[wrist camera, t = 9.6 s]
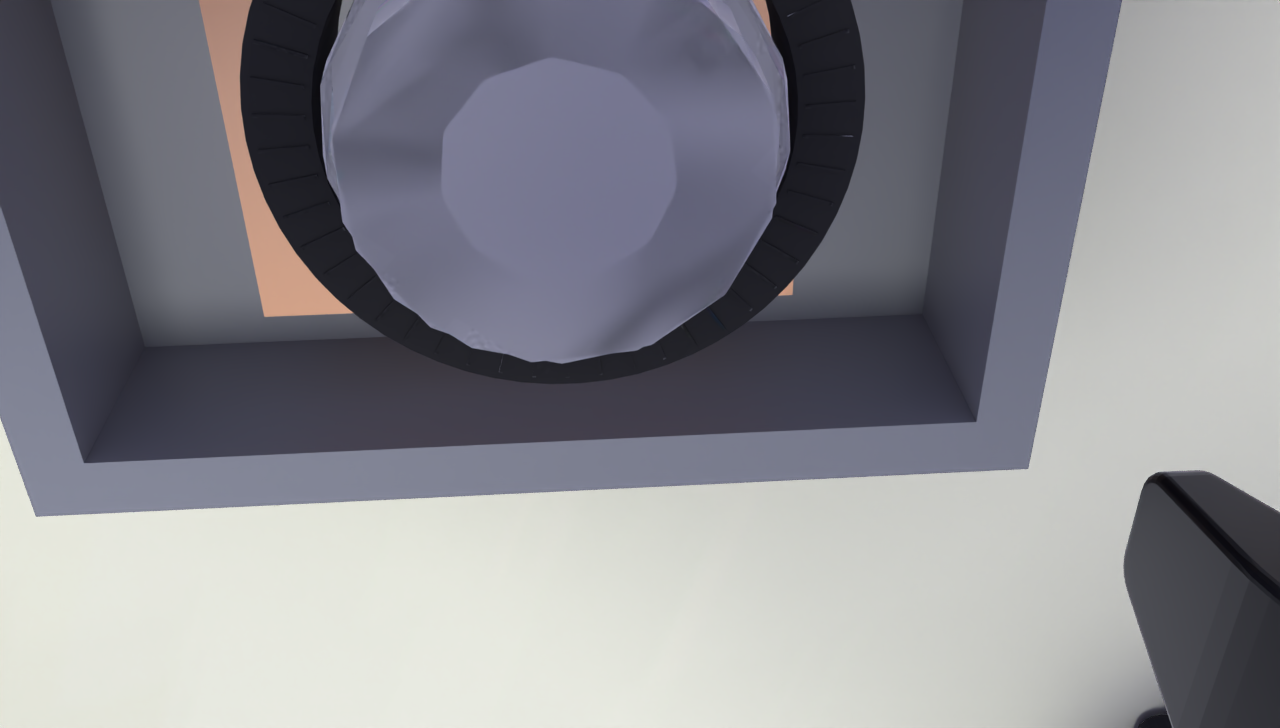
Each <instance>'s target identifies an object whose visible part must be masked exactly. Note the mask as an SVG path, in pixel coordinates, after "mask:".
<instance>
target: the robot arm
mask: <svg viewBox="0 0 1280 728" xmlns="http://www.w3.org/2000/svg"><path fill="white" fill-rule="evenodd" d="M1124 578H1125V584H1126V587H1127V591H1128V594H1129V597H1130V600H1131V603H1132V606H1133V609H1134V612H1135V615H1136V618H1137V622H1138V625H1139V628H1140V631H1141V634H1142V637H1143V640H1144V643H1145V646H1146V649H1147V652H1148V655H1149V658H1150V661H1151V664H1152V667H1153V670H1154V673H1155V676H1156V680H1157V683H1158V686H1159V689H1160V692H1161V695H1162V698H1163V701H1164V704H1165V707H1166V710H1167V713H1168V714H1167V715H1158V716H1153V717H1151V718H1149V719H1146V720H1145V721H1144V722H1143V723H1141V724H1140V725H1139V727H1138V728H1280V512H1278V511H1277V510H1275V509H1273V508H1271V507H1270V506H1268V505H1266V504H1264V503H1263V502H1261V501H1259V500H1257V499H1256V498H1254V497H1252V496H1251V495H1249V494H1247V493H1245V492H1244V491H1242V490H1240V489H1238V488H1237V487H1235V486H1233V485H1231V484H1230V483H1228V482H1226V481H1224V480H1223V479H1221V478H1219V477H1218V476H1216V475H1214V474H1212V473H1210V472H1206V471H1200V470H1195V471H1171V472H1158V473H1155V474H1153V475H1151V476H1150V477H1149V478H1148V479H1147V481H1146V482H1145V483H1144V486H1143V489H1142V491H1141V495H1140V499H1139V502H1138V506H1137V510H1136V514H1135V517H1134V521H1133V525H1132V529H1131V532H1130V536H1129V540H1128V544H1127V547H1126V551H1125V556H1124Z"/></svg>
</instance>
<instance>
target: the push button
mask: <svg viewBox="0 0 1280 728" xmlns="http://www.w3.org/2000/svg"><path fill="white" fill-rule="evenodd" d="M765 1H766V5H767V9H768V13H769V20H770V29H771V35H770V33H769V31H768V29H767V27H766V25H765V23H764V21H763V20H762V18H761V16H760V14H759V12H758V10H757V8H756V6H755V4H754V2H753V0H354V1H353V3H352V6H351V8H350V10H349V12H348V14H347V17H346V19H345V21H344V23H343V25H342V27H341V30H340V32H339V34H338V25H339V15H340V10H341V5H342V0H252V2H251V5H250V8H249V12H248V17H247V22H246V27H245V32H244V37H243V42H242V53H241V66H240V99H241V113H242V119H243V126H244V133H245V139H246V143H247V147H248V151H249V155H250V158H251V162H252V166H253V170H254V173H255V175H256V178H257V180H258V183H259V186H260V188H261V191H262V193H263V196H264V199H265V201H266V203H267V205H268V207H269V209H270V211H271V213H272V215H273V216H274V218H275V220H276V222H277V224H278V226H279V228H280V230H281V231H282V233H283V234H284V236H285V237H286V239H287V240H288V242H289V243H290V245H291V246H292V248H293V250H294V251H295V253H296V254H297V255H298V257H299V258H300V259H301V260H302V261H303V263H304V264H305V265H306V266H307V268H308V269H309V270H310V271H311V273H312V274H313V275H314V276H315V278H316V279H317V280H318V281H319V282H320V283H321V284H322V285H323V286H324V287H325V288H326V289H327V290H328V291H329V292H330V293H331V294H332V295H333V296H334V297H335V298H336V299H337V300H338V301H340V302H341V303H342V304H343V305H344V306H346V307H347V308H348V309H349V310H350V311H352V312H353V313H354V314H355V315H356V316H358V317H359V318H360V319H361V320H363V321H364V322H366V323H367V324H369V325H370V326H372V327H373V328H375V329H376V330H378V331H379V332H380V333H382V334H383V335H385V336H387V337H388V338H390V339H392V340H394V341H396V342H397V343H399V344H401V345H403V346H405V347H406V348H408V349H410V350H412V351H414V352H417V353H419V354H421V355H423V356H426V357H428V358H430V359H432V360H435V361H437V362H440V363H443V364H446V365H449V366H452V367H454V368H457V369H460V370H463V371H467V372H471V373H475V374H479V375H483V376H487V377H491V378H497V379H503V380H510V381H517V382H524V383H541V384H574V383H588V382H596V381H605V380H612V379H616V378H621V377H626V376H631V375H635V374H640V373H643V372H646V371H649V370H653V369H656V368H659V367H662V366H666V365H668V364H671V363H673V362H676V361H678V360H680V359H683V358H685V357H688V356H690V355H693V354H695V353H696V352H698V351H700V350H702V349H704V348H706V347H708V346H710V345H712V344H714V343H716V342H718V341H719V340H721V339H722V338H724V337H725V336H727V335H729V334H730V333H732V332H733V331H735V330H736V329H738V328H739V327H741V326H743V325H744V324H745V323H746V322H748V321H749V320H750V319H751V318H753V317H754V316H755V315H756V314H758V313H759V312H760V311H762V310H763V309H764V308H765V307H766V306H767V305H768V304H770V303H771V302H772V301H773V300H774V299H775V298H776V297H777V296H778V295H779V294H780V293H781V292H782V291H783V290H784V289H785V288H786V287H787V286H788V285H789V284H790V283H791V281H792V280H793V279H794V278H795V277H796V276H797V274H798V273H799V272H800V271H801V270H802V269H803V267H804V266H805V265H806V264H807V262H808V261H809V259H810V258H811V256H812V255H813V253H814V252H815V251H816V249H817V248H818V246H819V245H820V243H821V242H822V240H823V239H824V237H825V235H826V233H827V231H828V230H829V228H830V226H831V224H832V222H833V221H834V219H835V217H836V215H837V213H838V211H839V208H840V206H841V204H842V201H843V199H844V196H845V194H846V192H847V189H848V187H849V184H850V180H851V177H852V174H853V171H854V167H855V164H856V161H857V157H858V152H859V146H860V141H861V136H862V131H863V121H864V109H865V67H864V59H863V52H862V45H861V38H860V33H859V29H858V25H857V21H856V17H855V13H854V10H853V6H852V2H851V0H765Z"/></svg>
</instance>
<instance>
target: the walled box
mask: <svg viewBox="0 0 1280 728" xmlns="http://www.w3.org/2000/svg"><path fill="white" fill-rule="evenodd" d="M353 1H354V0H342V5H341V10H340V15H339V25H338V34H339V32H340V30H341V27H342V25H343V23H344V21H345V19H346V17H347V14H348V12H349V10H350V8H351V6H352V3H353ZM251 2H252V0H0V418H1V421H2V424H3V427H4V429H5V432H6V435H7V438H8V440H9V443H10V446H11V449H12V451H13V454H14V457H15V460H16V463H17V465H18V468H19V471H20V474H21V476H22V479H23V482H24V485H25V487H26V490H27V493H28V496H29V498H30V501H31V504H32V507H33V510H34V512H35V515H36V517H38V516H58V515H79V514H100V513H121V512H141V511H162V510H183V509H204V508H224V507H245V506H266V505H286V504H307V503H328V502H349V501H369V500H390V499H411V498H432V497H452V496H473V495H494V494H515V493H535V492H556V491H577V490H598V489H618V488H639V487H660V486H681V485H701V484H722V483H743V482H764V481H784V480H805V479H826V478H847V477H867V476H888V475H909V474H930V473H950V472H971V471H992V470H1012V469H1028V467H1029V462H1030V457H1031V452H1032V447H1033V442H1034V437H1035V432H1036V427H1037V422H1038V417H1039V412H1040V407H1041V402H1042V397H1043V392H1044V387H1045V382H1046V377H1047V372H1048V367H1049V362H1050V357H1051V352H1052V347H1053V342H1054V337H1055V332H1056V327H1057V322H1058V317H1059V312H1060V307H1061V302H1062V297H1063V292H1064V287H1065V282H1066V277H1067V272H1068V267H1069V262H1070V257H1071V252H1072V247H1073V242H1074V237H1075V232H1076V227H1077V222H1078V217H1079V212H1080V207H1081V202H1082V197H1083V192H1084V187H1085V182H1086V177H1087V172H1088V167H1089V162H1090V157H1091V152H1092V147H1093V142H1094V137H1095V132H1096V127H1097V122H1098V117H1099V112H1100V107H1101V102H1102V97H1103V92H1104V87H1105V82H1106V77H1107V72H1108V67H1109V62H1110V57H1111V52H1112V47H1113V42H1114V37H1115V32H1116V27H1117V22H1118V17H1119V12H1120V7H1121V2H1122V0H851V2H852V6H853V10H854V13H855V17H856V21H857V25H858V29H859V33H860V38H861V45H862V52H863V59H864V67H865V109H864V121H863V131H862V136H861V141H860V146H859V152H858V157H857V161H856V164H855V167H854V171H853V174H852V177H851V180H850V184H849V187H848V189H847V192H846V194H845V196H844V199H843V201H842V204H841V206H840V208H839V211H838V213H837V215H836V217H835V219H834V221H833V222H832V224H831V226H830V228H829V230H828V231H827V233H826V235H825V237H824V239H823V240H822V242H821V243H820V245H819V246H818V248H817V249H816V251H815V252H814V253H813V255H812V256H811V258H810V259H809V261H808V262H807V264H806V265H805V266H804V267H803V269H802V270H801V271H800V272H799V273H798V274H797V276H796V277H795V278H794V279H793V280H792V281H791V283H790V284H789V285H788V286H787V287H786V288H785V289H784V290H783V291H782V292H781V293H780V294H779V295H778V296H777V297H776V298H775V299H774V300H773V301H772V302H771V303H770V304H768V305H767V306H766V307H765V308H764V309H763V310H762V311H760V312H759V313H758V314H756V315H755V316H754V317H753V318H751V319H750V320H749V321H748V322H746V323H745V324H744V325H743V326H741V327H739V328H738V329H736V330H735V331H733V332H732V333H730V334H729V335H727V336H725V337H724V338H722V339H721V340H719V341H718V342H716V343H714V344H712V345H710V346H708V347H706V348H704V349H702V350H700V351H698V352H696V353H695V354H693V355H690V356H688V357H685V358H683V359H680V360H678V361H676V362H673V363H671V364H668V365H666V366H662V367H659V368H656V369H653V370H649V371H646V372H643V373H640V374H635V375H631V376H626V377H621V378H616V379H612V380H605V381H596V382H588V383H574V384H541V383H524V382H517V381H510V380H503V379H497V378H491V377H487V376H483V375H479V374H475V373H471V372H467V371H463V370H460V369H457V368H454V367H452V366H449V365H446V364H443V363H440V362H437V361H435V360H432V359H430V358H428V357H426V356H423V355H421V354H419V353H417V352H414V351H412V350H410V349H408V348H406V347H405V346H403V345H401V344H399V343H397V342H396V341H394V340H392V339H390V338H388V337H387V336H385V335H383V334H382V333H380V332H379V331H378V330H376V329H375V328H373V327H372V326H370V325H369V324H367V323H366V322H364V321H363V320H361V319H360V318H359V317H358V316H356V315H355V314H354V313H353V312H352V311H350V310H349V309H348V308H347V307H346V306H344V305H343V304H342V303H341V302H340V301H338V300H337V299H336V298H335V297H334V296H333V295H332V294H331V293H330V292H329V291H328V290H327V289H326V288H325V287H324V286H323V285H322V284H321V283H320V282H319V281H318V280H317V279H316V278H315V276H314V275H313V274H312V273H311V271H310V270H309V269H308V268H307V266H306V265H305V264H304V263H303V261H302V260H301V259H300V258H299V257H298V255H297V254H296V253H295V251H294V250H293V248H292V246H291V245H290V243H289V242H288V240H287V239H286V237H285V236H284V234H283V233H282V231H281V230H280V228H279V226H278V224H277V222H276V220H275V218H274V216H273V215H272V213H271V211H270V209H269V207H268V205H267V203H266V201H265V199H264V196H263V193H262V191H261V188H260V186H259V183H258V180H257V178H256V175H255V173H254V170H253V166H252V162H251V158H250V155H249V151H248V147H247V143H246V139H245V133H244V126H243V119H242V113H241V99H240V66H241V53H242V42H243V37H244V32H245V27H246V22H247V17H248V12H249V8H250V5H251ZM753 2H754V4H755V6H756V8H757V10H758V12H759V14H760V16H761V18H762V20H763V21H764V23H765V25H766V27H767V29H768V31H769V33H770V35H771V29H770V20H769V13H768V9H767V5H766V1H765V0H753Z"/></svg>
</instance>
